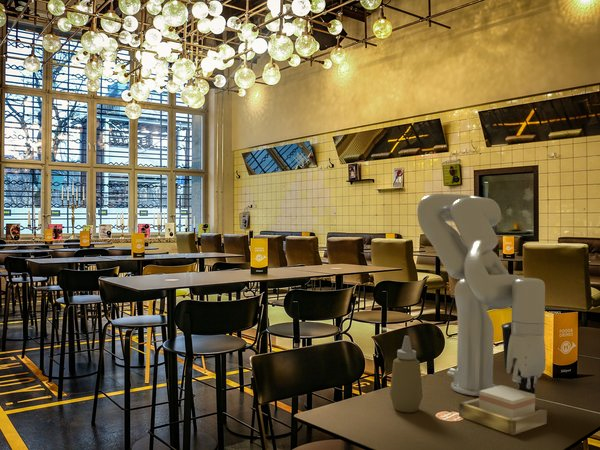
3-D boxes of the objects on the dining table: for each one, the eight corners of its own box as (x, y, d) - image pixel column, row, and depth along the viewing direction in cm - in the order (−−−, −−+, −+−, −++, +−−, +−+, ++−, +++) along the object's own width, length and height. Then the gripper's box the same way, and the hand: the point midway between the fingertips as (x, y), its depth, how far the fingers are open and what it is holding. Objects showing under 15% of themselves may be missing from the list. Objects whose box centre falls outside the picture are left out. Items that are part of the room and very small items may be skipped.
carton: (478, 415, 133) (479, 390, 133) (501, 408, 138) (501, 384, 138) (512, 427, 126) (513, 401, 126) (534, 419, 131) (535, 394, 131)
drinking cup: (529, 372, 173) (531, 308, 173) (505, 371, 173) (506, 307, 173) (520, 365, 181) (521, 304, 181) (497, 365, 181) (498, 304, 181)
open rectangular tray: (458, 415, 132) (459, 403, 132) (492, 406, 140) (493, 394, 140) (512, 435, 120) (512, 421, 120) (546, 423, 128) (546, 410, 128)
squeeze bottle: (382, 405, 138) (384, 334, 138) (410, 402, 142) (411, 332, 142) (401, 416, 131) (402, 340, 131) (429, 412, 134) (430, 338, 134)
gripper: (530, 323, 143) (529, 394, 143) (496, 329, 134) (494, 404, 134) (558, 328, 137) (557, 402, 137) (524, 334, 128) (523, 413, 128)
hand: (526, 403), depth 135 cm, fingers closed
